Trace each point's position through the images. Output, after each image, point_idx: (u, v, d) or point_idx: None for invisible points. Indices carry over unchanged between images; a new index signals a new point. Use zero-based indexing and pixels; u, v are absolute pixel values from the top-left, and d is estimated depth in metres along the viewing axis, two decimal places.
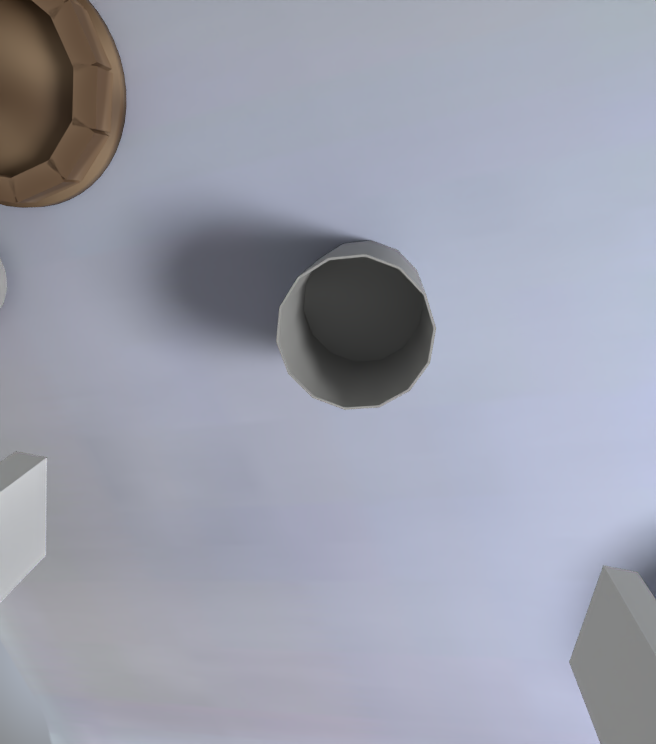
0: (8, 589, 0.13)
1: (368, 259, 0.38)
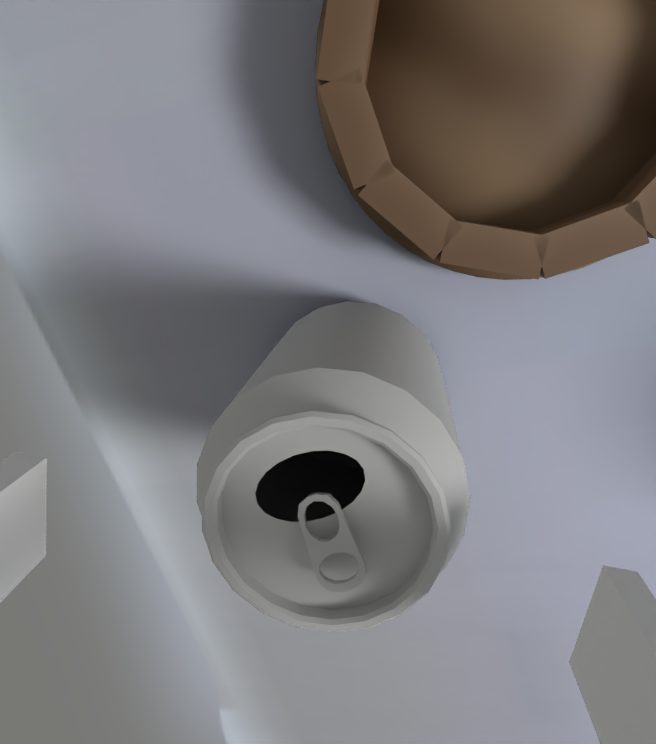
0: (8, 589, 0.13)
1: None
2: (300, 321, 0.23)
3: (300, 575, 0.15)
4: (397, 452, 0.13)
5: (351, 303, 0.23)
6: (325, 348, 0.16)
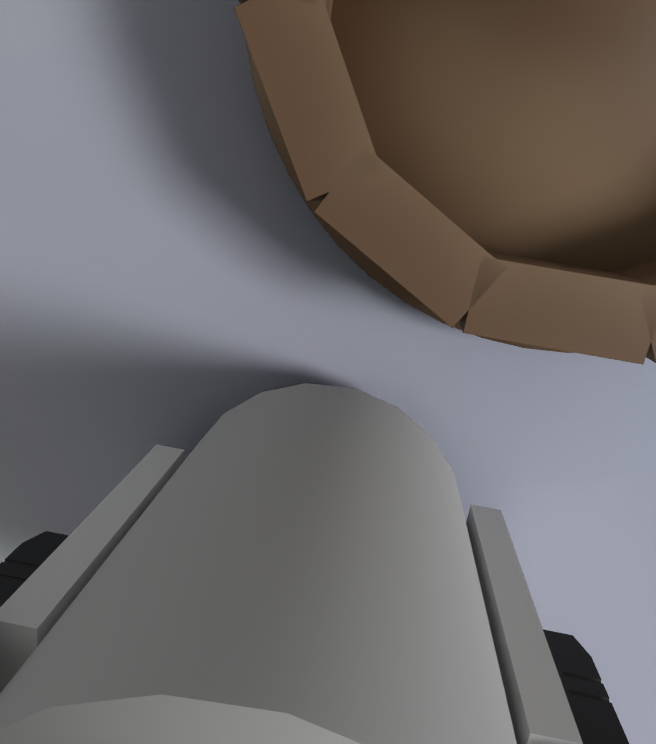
0: None
1: None
2: (225, 420, 0.14)
3: None
4: None
5: (311, 389, 0.14)
6: (218, 568, 0.07)
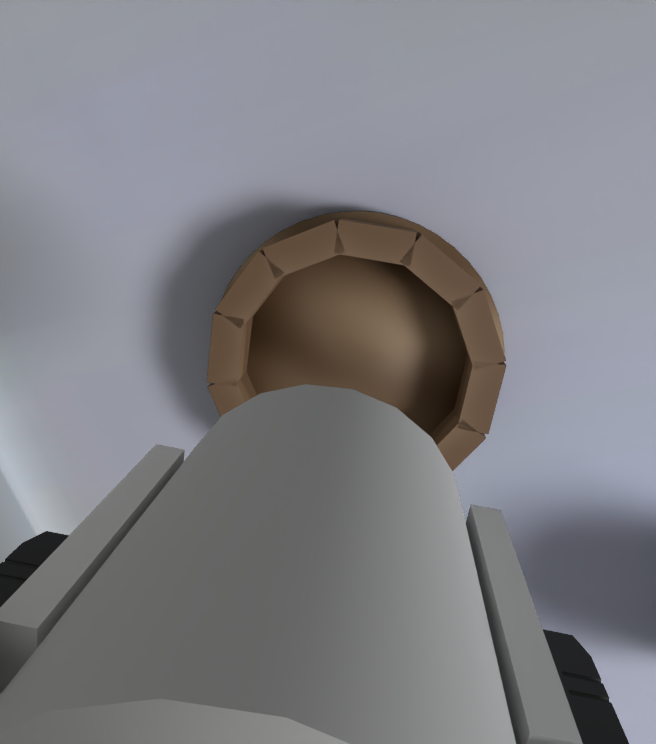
0: None
1: None
2: (225, 421, 0.14)
3: None
4: None
5: (311, 390, 0.14)
6: (217, 571, 0.07)
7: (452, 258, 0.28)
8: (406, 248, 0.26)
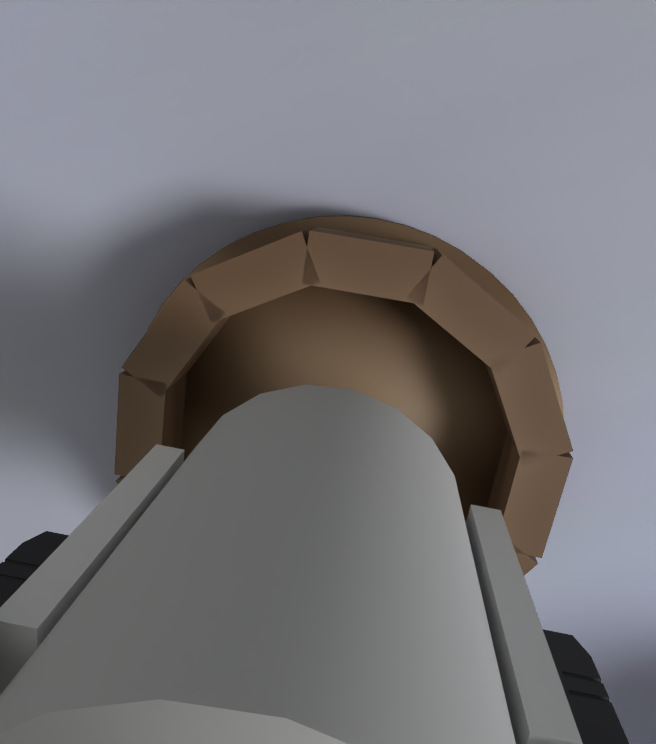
0: None
1: None
2: (225, 421, 0.14)
3: None
4: None
5: (311, 390, 0.14)
6: (217, 572, 0.07)
7: (487, 289, 0.18)
8: (417, 276, 0.16)
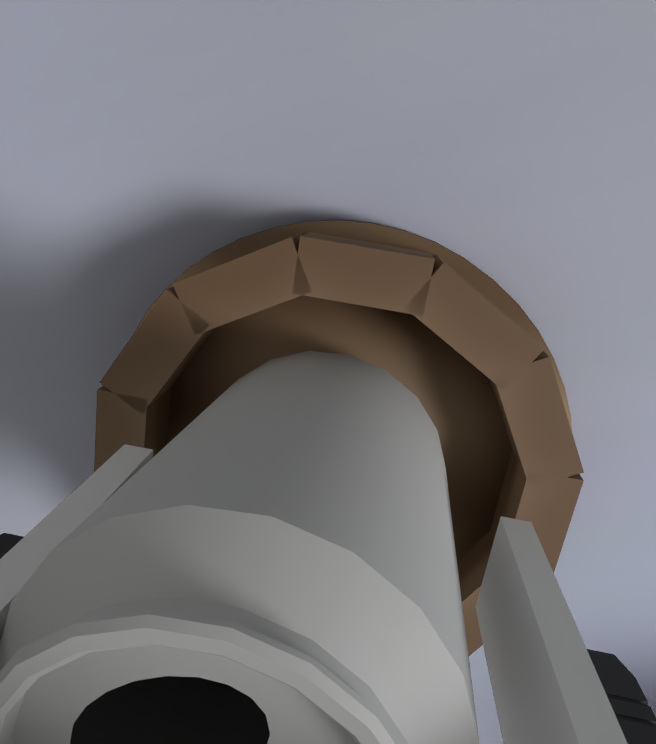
0: None
1: None
2: (241, 380, 0.16)
3: None
4: (322, 705, 0.06)
5: (313, 354, 0.16)
6: (229, 450, 0.10)
7: (491, 298, 0.17)
8: (416, 286, 0.15)
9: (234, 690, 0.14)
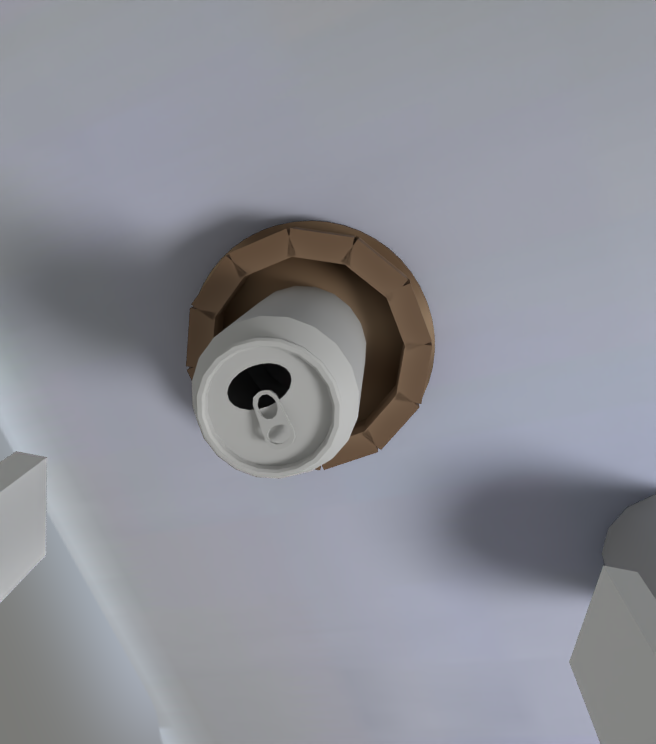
0: (8, 589, 0.13)
1: None
2: None
3: (257, 444, 0.25)
4: (306, 359, 0.23)
5: (297, 286, 0.33)
6: (269, 308, 0.26)
7: (387, 258, 0.33)
8: (346, 250, 0.31)
9: None
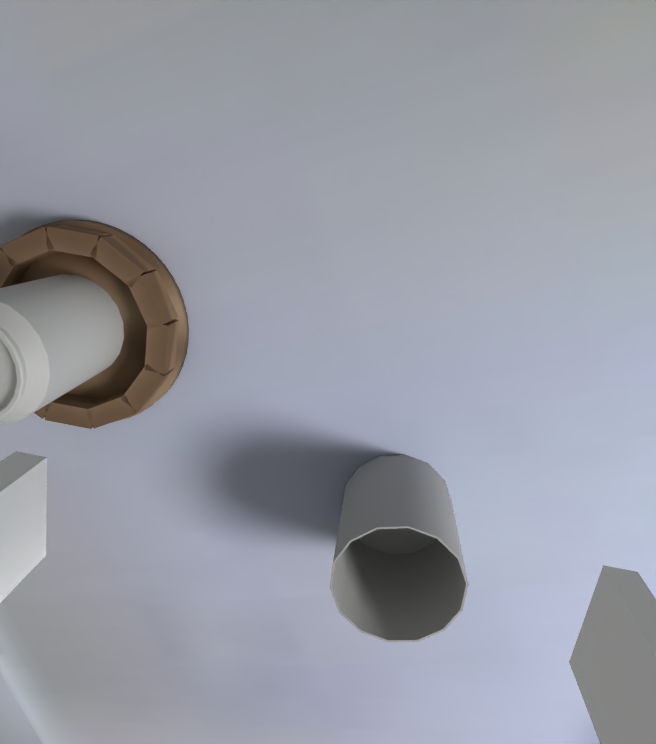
0: (8, 589, 0.13)
1: None
2: None
3: None
4: None
5: (61, 275, 0.40)
6: None
7: (138, 253, 0.40)
8: (92, 246, 0.38)
9: None
